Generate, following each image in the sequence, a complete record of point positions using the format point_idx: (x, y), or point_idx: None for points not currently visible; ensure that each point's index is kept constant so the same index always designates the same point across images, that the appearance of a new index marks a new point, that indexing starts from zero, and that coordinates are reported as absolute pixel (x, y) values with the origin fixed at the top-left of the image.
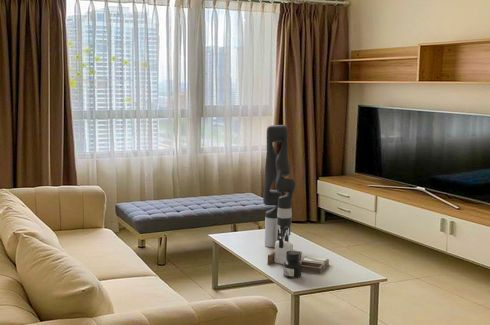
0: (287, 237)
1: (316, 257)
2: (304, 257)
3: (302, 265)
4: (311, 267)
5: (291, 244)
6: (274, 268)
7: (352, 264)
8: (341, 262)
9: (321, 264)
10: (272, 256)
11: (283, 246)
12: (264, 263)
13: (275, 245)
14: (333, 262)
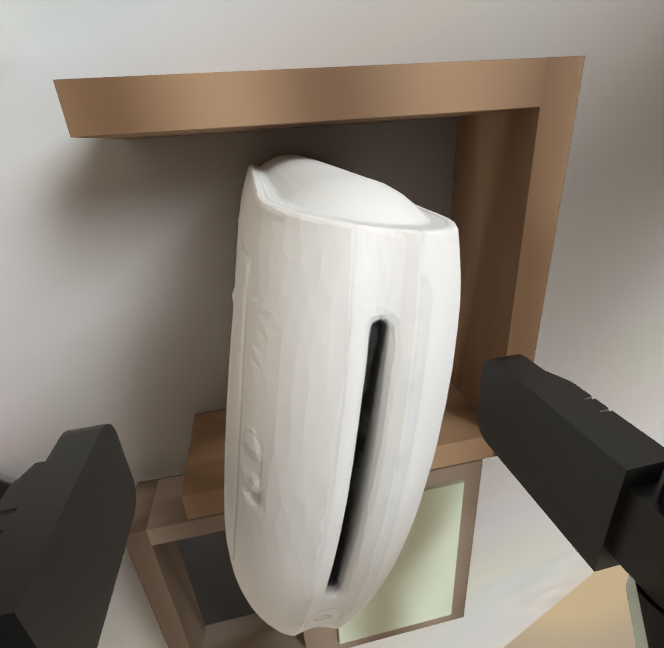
0: (610, 549)
1: (471, 544)
2: (428, 477)
3: (154, 582)
4: (168, 639)
5: (311, 626)
6: (23, 276)
7: (499, 643)
8: (518, 595)
9: (304, 642)
10: (248, 127)
11: (226, 467)
12: (122, 29)
13: (249, 223)
14: (502, 568)
